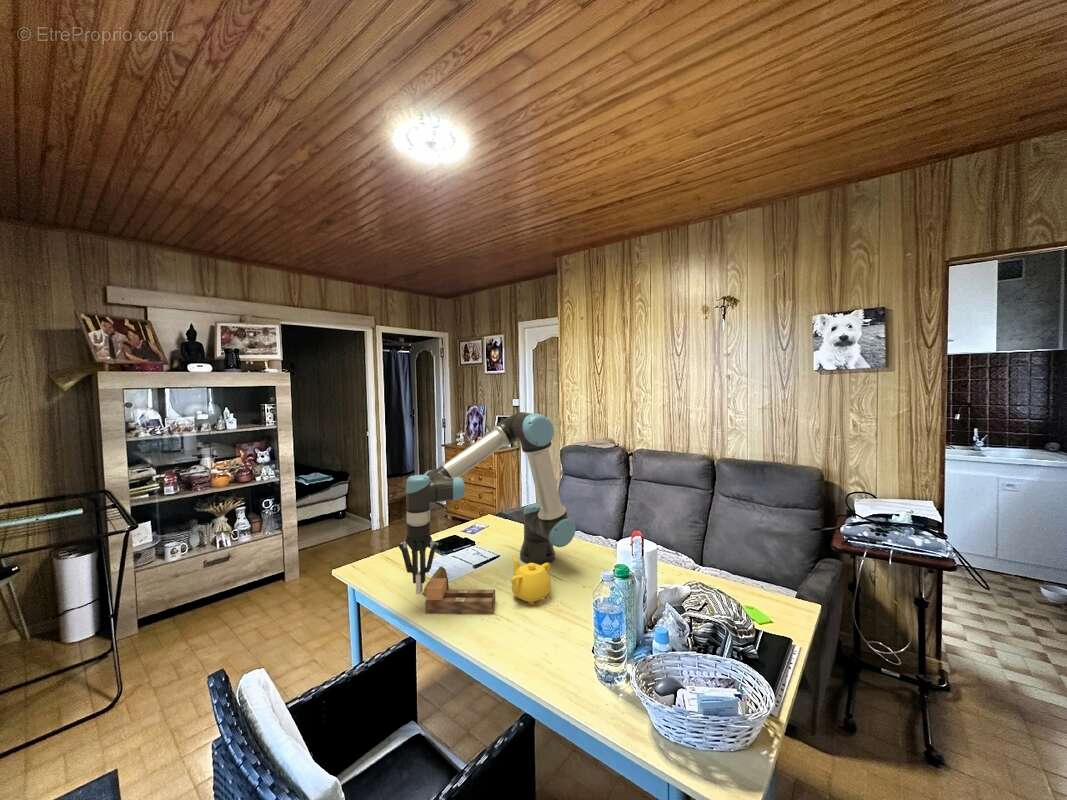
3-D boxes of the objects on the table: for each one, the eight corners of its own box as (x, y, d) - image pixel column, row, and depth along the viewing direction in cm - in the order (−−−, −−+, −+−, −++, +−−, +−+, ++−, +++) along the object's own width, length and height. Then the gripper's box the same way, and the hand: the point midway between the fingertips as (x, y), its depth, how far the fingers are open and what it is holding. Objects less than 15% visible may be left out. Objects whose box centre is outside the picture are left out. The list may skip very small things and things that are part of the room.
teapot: (549, 586, 154) (549, 554, 154) (551, 607, 140) (552, 572, 139) (511, 586, 154) (511, 555, 153) (510, 607, 140) (510, 572, 139)
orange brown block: (446, 597, 143) (446, 578, 143) (442, 608, 136) (441, 588, 136) (431, 597, 143) (431, 578, 143) (426, 608, 136) (426, 588, 136)
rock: (457, 595, 143) (453, 583, 153) (445, 574, 142) (442, 564, 152) (428, 614, 140) (426, 601, 150) (416, 593, 139) (415, 581, 149)
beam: (495, 600, 144) (495, 588, 144) (493, 614, 135) (493, 601, 135) (431, 600, 144) (431, 588, 144) (425, 614, 135) (425, 601, 135)
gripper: (440, 518, 142) (441, 586, 143) (402, 518, 142) (403, 586, 143) (435, 526, 135) (436, 598, 136) (395, 526, 135) (396, 598, 136)
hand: (419, 592), depth 139 cm, fingers closed
